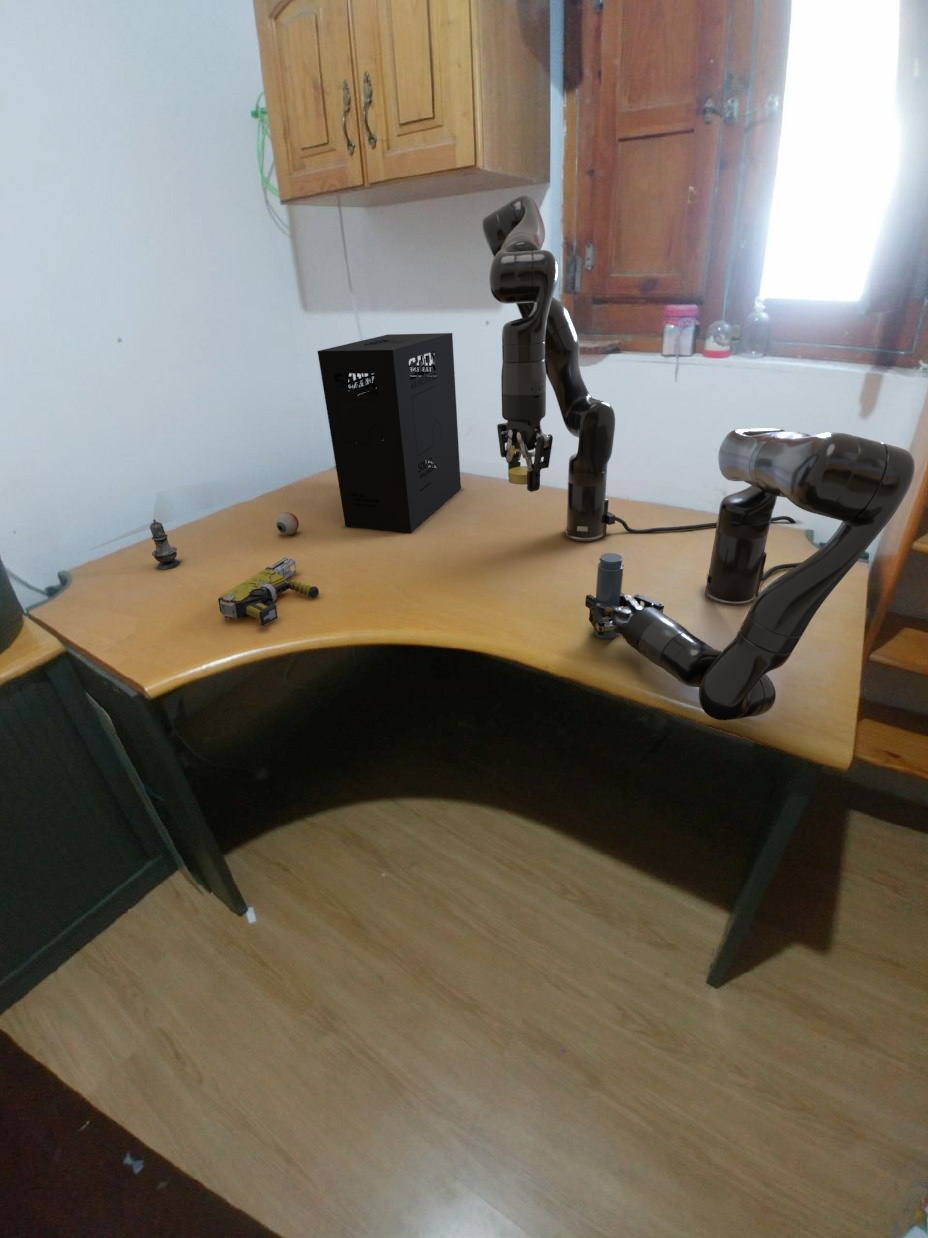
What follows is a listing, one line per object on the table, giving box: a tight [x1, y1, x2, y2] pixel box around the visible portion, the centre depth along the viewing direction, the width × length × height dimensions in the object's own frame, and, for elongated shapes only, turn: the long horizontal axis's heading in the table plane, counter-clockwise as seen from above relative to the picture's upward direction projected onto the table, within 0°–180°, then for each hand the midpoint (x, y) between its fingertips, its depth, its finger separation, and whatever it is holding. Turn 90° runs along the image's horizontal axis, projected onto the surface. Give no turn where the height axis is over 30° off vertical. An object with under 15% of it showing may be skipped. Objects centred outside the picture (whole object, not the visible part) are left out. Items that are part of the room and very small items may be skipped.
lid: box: [508, 465, 528, 486], centre depth 109 cm, size 5×5×2 cm
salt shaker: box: [149, 519, 181, 570], centre depth 148 cm, size 6×6×12 cm
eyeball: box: [275, 511, 300, 536], centre depth 163 cm, size 6×6×6 cm
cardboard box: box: [317, 332, 462, 534], centre depth 168 cm, size 38×20×45 cm, turn 159°
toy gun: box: [217, 557, 320, 627], centre depth 130 cm, size 5×24×15 cm
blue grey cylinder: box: [593, 552, 625, 640], centre depth 109 cm, size 4×4×16 cm
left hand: (523, 485), depth 110 cm, fingers closed on lid, 5 cm apart
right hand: (599, 596), depth 112 cm, fingers closed on blue grey cylinder, 4 cm apart
